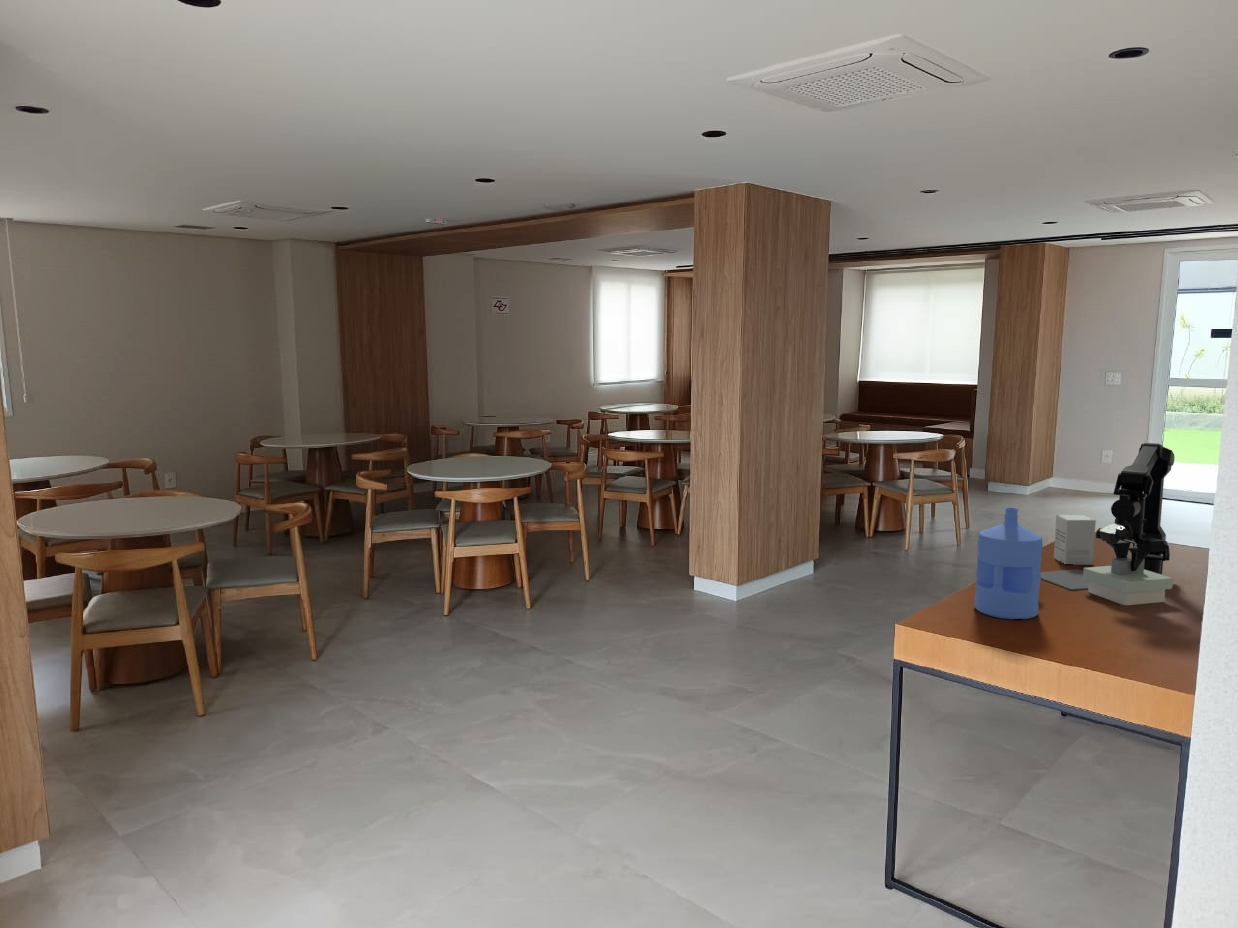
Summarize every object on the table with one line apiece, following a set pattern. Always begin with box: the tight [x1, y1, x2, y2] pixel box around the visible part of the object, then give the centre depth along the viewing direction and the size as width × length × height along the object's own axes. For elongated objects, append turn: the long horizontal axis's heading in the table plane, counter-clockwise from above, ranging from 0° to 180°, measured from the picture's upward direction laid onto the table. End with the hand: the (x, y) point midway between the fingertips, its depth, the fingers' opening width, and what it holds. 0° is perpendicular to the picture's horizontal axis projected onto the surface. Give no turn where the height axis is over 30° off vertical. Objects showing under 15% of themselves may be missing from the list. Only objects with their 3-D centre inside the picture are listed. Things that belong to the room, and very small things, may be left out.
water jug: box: [973, 507, 1043, 620], centre depth 221 cm, size 16×16×28 cm
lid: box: [1082, 556, 1174, 593], centre depth 234 cm, size 15×15×7 cm
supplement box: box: [1053, 514, 1097, 566], centre depth 273 cm, size 9×9×15 cm
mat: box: [1040, 569, 1089, 591], centre depth 252 cm, size 18×18×1 cm
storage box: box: [1087, 580, 1166, 606], centre depth 234 cm, size 13×13×6 cm
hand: (1127, 569), depth 234 cm, fingers open, 4 cm apart
